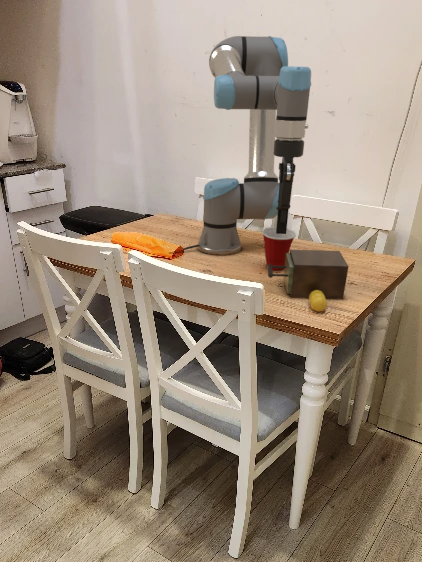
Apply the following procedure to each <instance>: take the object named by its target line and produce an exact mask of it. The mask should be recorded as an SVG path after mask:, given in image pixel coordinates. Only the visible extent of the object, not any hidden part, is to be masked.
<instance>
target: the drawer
mask: <svg viewBox="0 0 422 562" xmlns="http://www.w3.org/2000/svg"><path fill="white" fill-rule="evenodd" d="M272 268H284V269H283V273H274V272H273V270H272ZM266 269H267V275H268V278H270V279H272V278H273V277H278V278H279V277H280V278H281V277H282V278H283V283H284V286H285V291H286V294H287V295H288V294H289V295H290V294H291V291H292V282H293V273H294V265H293V262H292V258H291V255H290V252H289V253H286V258H285V266H272V265H271V264H268V265H267V266H266Z"/></svg>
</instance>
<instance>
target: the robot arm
mask: <svg viewBox="0 0 422 562" xmlns="http://www.w3.org/2000/svg"><path fill="white" fill-rule="evenodd" d="M208 58H209V59H208V63H209V64H208V65H209V70H210V73H211V74H212V76H213V78H214V80H213V81H214V82H213V104H214V107H215V108H216V109H217V110H218V109H219V110H227V111H229V110H249V128H248V129H249V132H248V133H249V134H248V172H247V174H246V175H245V176H244V177H243V183H241V182H239V179H238V178H235V177H224V178H223V177H222V178H217V179H213V180H210V181H208V182H206V184H204V187H203V196H202V199H203V226H202V227H203V228H202V230H201V233H200V236H199V240H198V242H197V243H198V244H195V245H191V246H187V247H183V248H182V249H183V250H181V251H179V252H178V253H180V252H183V251H186V250H190V249H194V248H198V250H199V251H200V252H202V253H205V254H209V255H214V256H227V255H234V254H237V253H239V252H240V251H241V250H242V249H241V248H242V243H241V239H240V236H239V231H238V228H237V227H238V226H237V225H238V224H237V223H238V220H263V221H264V220H272V219H275V218H276V226H275V227H276V234H286V231H287V228H288V219H289V210H290V208H291V200H292V199H291V198H292V192H293V191H292V190H293V184H294V176H295V173H296V166H297V165H296V164H295V163H294V158H301V157H302V156H303V155H304V149H305V141H304V138H305V137H306V129H308V128H309V124H307V119H308V109H309V100H310V92H311V87H312V70H311V68H310V67H309V66H289V53H288V48H287V44H286V42H285V40H284V39H283V38H282V37H276V36H271V35H268V36H246V35H244V36H242V35H234V36H230V37H227V38H225V39H224V40H221V41H220V42H218V43H217V44H216V45H215V46H214V47H213V49H212V50H211V53H210V55H209V57H208ZM275 157H278V158H282V159H281V162H278V170H279V172H278V175H277V174H276V173H275Z"/></svg>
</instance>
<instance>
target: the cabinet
mask: <svg viewBox="0 0 422 562" xmlns="http://www.w3.org/2000/svg"><path fill="white" fill-rule="evenodd" d="M289 253H290V255H291V258H292V262H293V265H294V273H293V282H292V291H291V294H289V295H290V298H296V299H297V298H298V299H299V298H300V299H309V295H310V294H311V292H313V291H315V290H319V291H321V292H323V294H324V296H325V298H326V300H328V299H329V300H343V299H344V297H345V296H344V295H345V291H346V283H347V278H348V272H349V265H348V263H347V261H346V259H345V257H344V256H343V254H342V252H341V251H340V250H321V249H318V250H317V249H290V251H289Z"/></svg>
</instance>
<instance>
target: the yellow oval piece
mask: <svg viewBox="0 0 422 562" xmlns="http://www.w3.org/2000/svg"><path fill="white" fill-rule="evenodd" d="M308 301H309V304H310V307H311V309H312V310H313V311H315V312H317V313H318V312H322V311H324V310H325V309H326V308H327V306H328V301H327V299H326V298H325V296H324V294H323V292H321V291H319V290H315V291H313V292H311V294H310V295H309V298H308Z"/></svg>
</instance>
